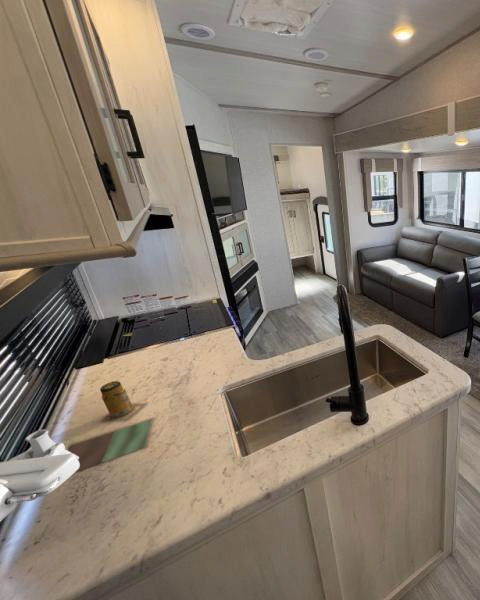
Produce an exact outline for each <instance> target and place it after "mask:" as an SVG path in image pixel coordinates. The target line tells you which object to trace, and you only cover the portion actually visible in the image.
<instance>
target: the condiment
mask: <svg viewBox="0 0 480 600" xmlns="http://www.w3.org/2000/svg"><path fill="white" fill-rule="evenodd" d="M99 391H100V393H101V399H102V401H103V403H104V405H105V407H106V409H107V412H108V413H109V415H110V417H111V418H112V419H119V418H122V417H125V416H127V415H129V414H130V413H132V411H133V410H134V405H133V404H132V402H131V400H130V397H129V395H128V392H127V391H126V388H125V387H123V385H122V383H121V382H120V381H118V380H114V381H110V382H107V383H105V384H104V385H102V386H101V387H100V389H99Z"/></svg>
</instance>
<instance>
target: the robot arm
mask: <svg viewBox="0 0 480 600" xmlns="http://www.w3.org/2000/svg"><path fill="white" fill-rule="evenodd" d="M64 449H65V450H66V446H65V444H64V443H63V442H61V443H56V444H54V445H53V446H52V447H50V448H49V449H48V450H49V452H50V454H48V455H45V456H44V457H39V458H33V450H32V446H31V447H29V448H28V449H27V450H26V451H24V452H22V453H20V454H18V455H16V456H14V457H11V458H10V459H8V460H6V461H0V523H1V522H2V521H3V520H4V519H5V518H6V517H7V516H8V515H9V514H10V513H12V512H13V511H14V509H15V508H16V507H17V504H18V503H21V502H31V501H35V500H37V498H41V497H45V496H47V495H49V494H50V493H53V492H54V491H55V490H56V489H58V488H59V487H60V486H61V485H62V484H63V483H65V482H66V481H67V480H68V479H69V478H71V477H72V476H73V475H74V474H75V473H77V472H78V471H77V470H78V469H79V467H80V463H79V461H78V459H77V457H76V456H75V454H63V455H59V454H60V453H61V452H62V451H63V450H64ZM76 471H77V472H76Z"/></svg>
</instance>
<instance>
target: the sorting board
mask: <svg viewBox="0 0 480 600" xmlns="http://www.w3.org/2000/svg"><path fill="white" fill-rule="evenodd" d="M151 423H152V419H148V420H146V421H142V422H138V423H136V424H132V425H130V426H127V427H124V428H120V429H118V430H114V431H111V432H109V433H105V434H103V435H99V436H96V437H93V438H90V439H87V440H83V441H80V442H77V443H74V444H71V446H70V448H69V450H68V451H69V452H71V453H73V454H75V455H76V456H78V457H79V459H78V461H79V463H80V467H79V469H78V470H77V471H76V472H75V473H77V472H80V471H83V470H86V469H88V468H89V469H90V468H92V467H94V466H97V465H100V464H102V463H106V462H108V461H111V460H113V459H117V458H119V457H122V456H125V455H128V454H131V453H133V452H136V451H139V450H142V449H144V448H145V447H146V444H147V440H148V435H149V431H150V428H151Z"/></svg>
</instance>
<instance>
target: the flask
mask: <svg viewBox="0 0 480 600" xmlns="http://www.w3.org/2000/svg"><path fill="white" fill-rule="evenodd" d="M24 441H26V442H29V444H30V446H31V447H32V450H33V458H39V457H44V456H45V455H48V454H50V452H49V450H48V449H49V448H50V447H52V446H53V445H54V444H57V443H56V442H55V441H54V440H52V439H51V437H50V435H49V430H48V429H44V428H43V429H39V430H35V431H34V432H32V433H30V434H28V435H27V436H26V437H25V438H24ZM63 454H73V453H71V452H69V450H68V449H66V448H65V449H64V450H63V451H62V452H61V453H60V454H59V455H63ZM75 456H76V455H75ZM76 457H77V459H79V457H78V456H76Z"/></svg>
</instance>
